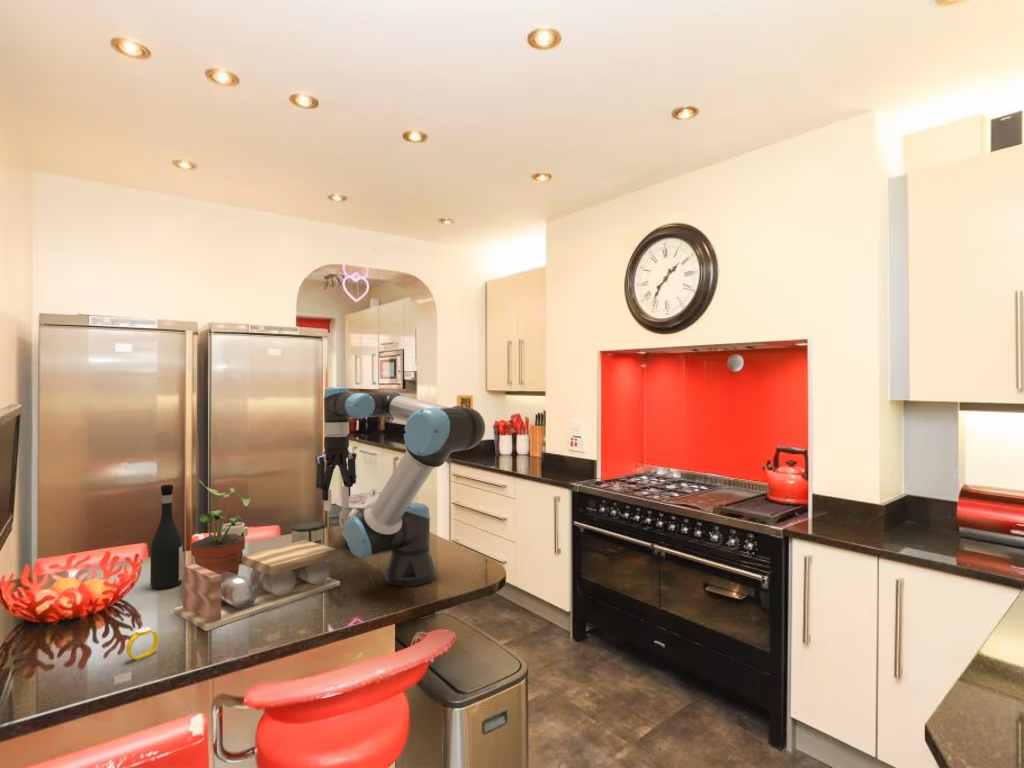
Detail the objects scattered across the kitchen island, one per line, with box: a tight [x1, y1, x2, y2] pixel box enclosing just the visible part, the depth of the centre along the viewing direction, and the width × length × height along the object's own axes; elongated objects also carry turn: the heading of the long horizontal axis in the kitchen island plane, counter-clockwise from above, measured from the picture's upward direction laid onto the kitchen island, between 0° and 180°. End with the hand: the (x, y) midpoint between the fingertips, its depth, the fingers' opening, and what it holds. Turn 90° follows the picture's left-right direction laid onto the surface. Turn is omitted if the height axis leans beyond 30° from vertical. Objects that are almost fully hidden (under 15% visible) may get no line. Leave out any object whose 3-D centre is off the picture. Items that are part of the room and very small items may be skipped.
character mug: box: [221, 521, 249, 563], centre depth 182 cm, size 11×7×13 cm, turn 151°
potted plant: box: [190, 478, 252, 576], centre depth 162 cm, size 16×15×35 cm
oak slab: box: [241, 540, 336, 576], centre depth 158 cm, size 16×20×2 cm
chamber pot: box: [334, 488, 382, 542], centre depth 205 cm, size 28×28×21 cm
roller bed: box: [174, 560, 341, 632], centre depth 151 cm, size 18×38×12 cm, turn 143°
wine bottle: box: [149, 484, 183, 590], centre depth 162 cm, size 8×8×30 cm
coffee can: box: [291, 520, 326, 546], centre depth 178 cm, size 10×10×14 cm
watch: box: [125, 627, 160, 661], centre depth 119 cm, size 6×3×6 cm, turn 151°
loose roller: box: [220, 572, 258, 609], centre depth 145 cm, size 12×7×7 cm, turn 53°
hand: (336, 508), depth 171 cm, fingers open, 6 cm apart
